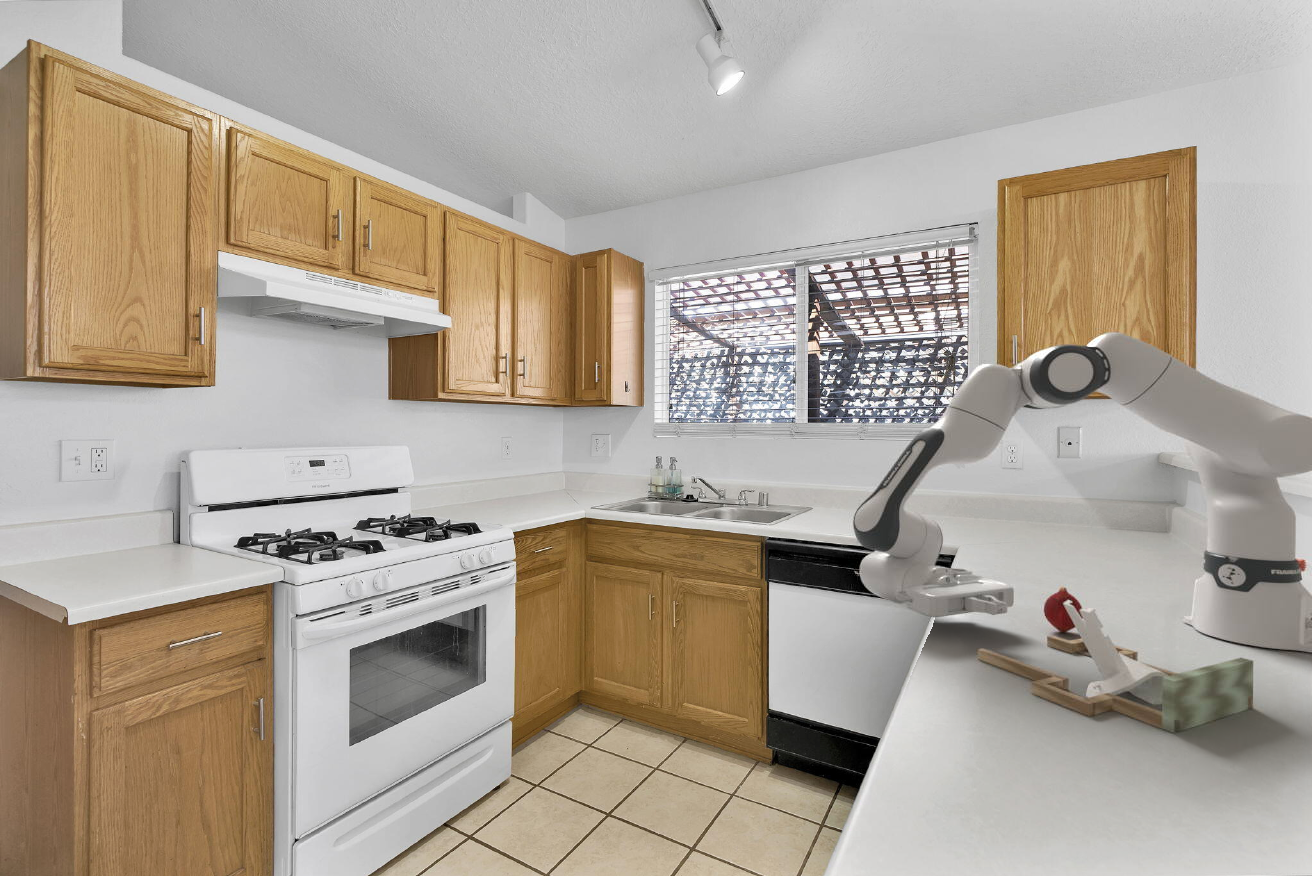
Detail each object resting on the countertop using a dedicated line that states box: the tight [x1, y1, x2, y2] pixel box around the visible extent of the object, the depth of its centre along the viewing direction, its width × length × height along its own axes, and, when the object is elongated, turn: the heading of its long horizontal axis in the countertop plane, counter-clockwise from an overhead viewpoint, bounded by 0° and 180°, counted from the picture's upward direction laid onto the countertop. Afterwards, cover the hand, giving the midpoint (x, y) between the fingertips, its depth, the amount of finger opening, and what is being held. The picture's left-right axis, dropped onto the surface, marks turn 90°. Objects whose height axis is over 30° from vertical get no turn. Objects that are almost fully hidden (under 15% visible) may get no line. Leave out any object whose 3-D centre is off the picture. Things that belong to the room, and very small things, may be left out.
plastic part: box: [1063, 600, 1169, 705], centre depth 83 cm, size 8×10×12 cm
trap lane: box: [977, 635, 1254, 734], centre depth 87 cm, size 27×26×6 cm
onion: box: [1043, 586, 1084, 633], centre depth 109 cm, size 6×6×8 cm
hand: (1001, 609), depth 101 cm, fingers closed
